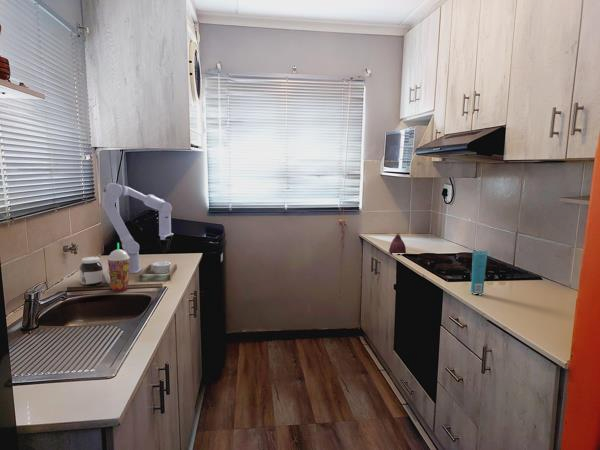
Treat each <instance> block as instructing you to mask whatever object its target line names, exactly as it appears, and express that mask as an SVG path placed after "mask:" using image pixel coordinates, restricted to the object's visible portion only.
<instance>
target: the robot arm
mask: <svg viewBox="0 0 600 450" xmlns="http://www.w3.org/2000/svg"><path fill="white" fill-rule="evenodd" d="M121 196H130V197H132V198H135V199H137V200H139V201H142V202H143V204H144V205H145V206H147V207H149V208H152V209H153V210H156V211H158V225H159V226H158V236H159V237H160V238H157V242H158V244H159V246H160V250H161V251H160V252H161V253H162V254H167V251H169V250H170V247H171V242H172V239H173V235H174V233H173V232H172V219H171V218H172V215H171V212H172V211H173V206H172V204H171V203H170V202H168V201H165V199H163V198H159V197H157V196H156V195H155V194H151V193H149V194H147V195H145V194H143V193H142V192H140V191H137V190H135V189H134V188H131V187H130V186H127V185H122V184H119V183H115V182H108V183H107V184H105V186H104V188H103V190H102V200H101V205H102V208H103V209H104V211H105V213H106V214H107V216H108V218H109V220H110V222H111V224H112V226H113V228H114V229H115V231H116V233H117V235H118V236H119V240H120V242H121V247H122V250H124V251H125V252H126V253H127V254H128V256H129V257H130V258H129V259H130V260H129V274H138V273H139V272H140V271H141V270H142V267H140V254H139V253H140V252H139V251H140V244H139V243H138V242H137V241H135V239H134V237H133V236H132V235H131V233H130V231H129V230H128V228H127V226H126V225H125V222H124V220H123V219H122V216H121V215H120V213H119V211H118V209H117V207H116V202H117V201H118V199H119V198H120V197H121Z"/></svg>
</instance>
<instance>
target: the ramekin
mask: <svg viewBox="0 0 600 450" xmlns="http://www.w3.org/2000/svg"><path fill="white" fill-rule="evenodd" d="M151 265H152V273H154V274H168V273H169V272H170V270H171V265H172V264H171V262H170V261H165V260H164V261H163V260H161V261H154V262H152V263H151Z"/></svg>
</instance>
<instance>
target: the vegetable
mask: <svg viewBox="0 0 600 450" xmlns="http://www.w3.org/2000/svg"><path fill="white" fill-rule="evenodd" d="M406 249H407V248H406V244H405V242H404V241H403V239H402V237H401V235H400V234H399V233H396V235H395V236H394V237H393V239H392V241H391V244H390V247H389V250H388V253H389V252H390V253H407V250H406ZM390 253H389V254H390Z"/></svg>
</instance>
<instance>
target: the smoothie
mask: <svg viewBox="0 0 600 450" xmlns="http://www.w3.org/2000/svg"><path fill="white" fill-rule="evenodd" d="M116 243H117V244H116V245H117V246H116V247H117V248H116V249H114V250H113V251H111V252H110V254H109V256H108V257H107V265H108V273H109V275H110V288H111V289H112V291H113V292H118V293H119V292H124V291H127V290H128V287H129V284H130V273H129V260H130V259H129V258H130V257H129V256H128V254H127V253H126V252H125V251H124V249H120V242H116Z"/></svg>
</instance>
